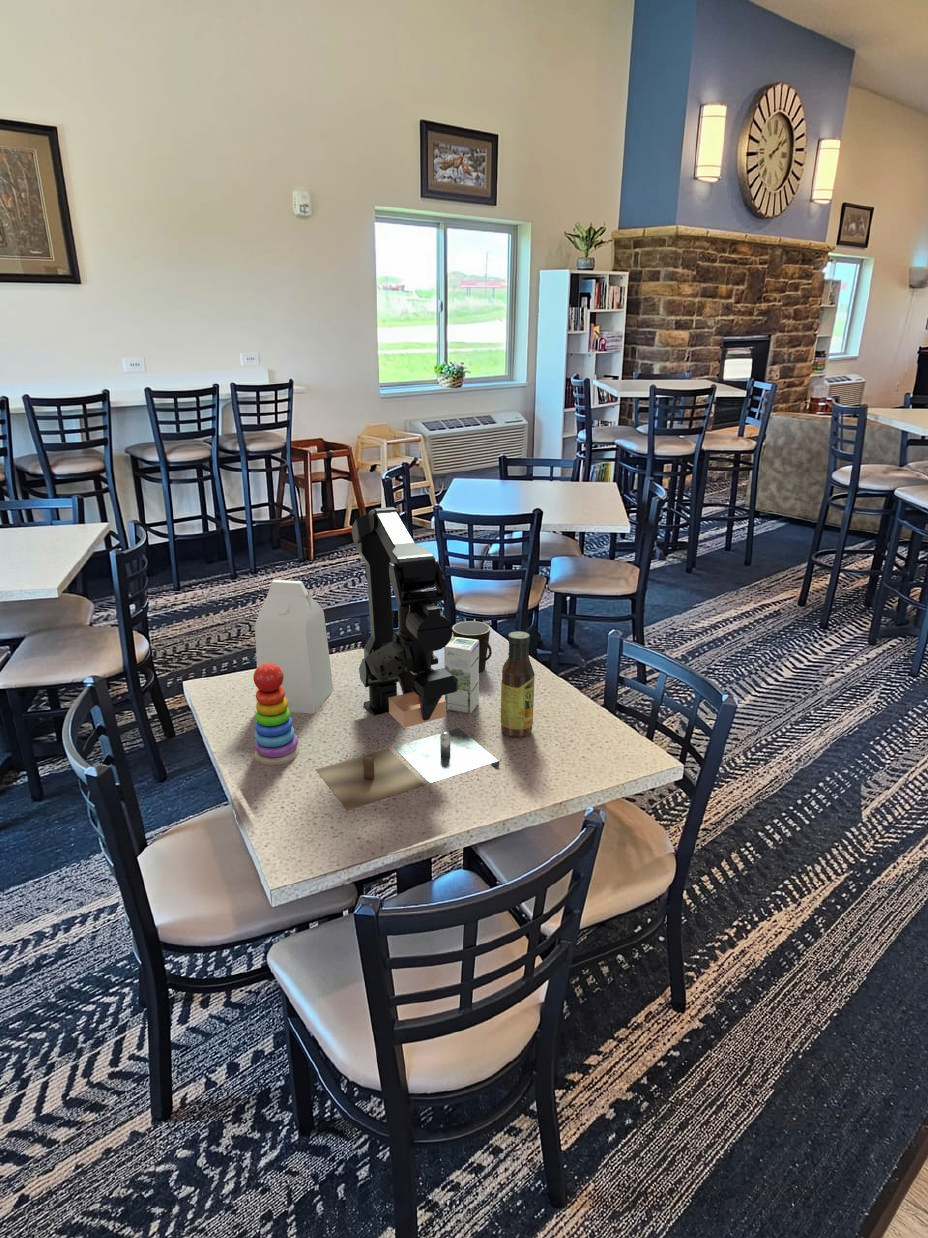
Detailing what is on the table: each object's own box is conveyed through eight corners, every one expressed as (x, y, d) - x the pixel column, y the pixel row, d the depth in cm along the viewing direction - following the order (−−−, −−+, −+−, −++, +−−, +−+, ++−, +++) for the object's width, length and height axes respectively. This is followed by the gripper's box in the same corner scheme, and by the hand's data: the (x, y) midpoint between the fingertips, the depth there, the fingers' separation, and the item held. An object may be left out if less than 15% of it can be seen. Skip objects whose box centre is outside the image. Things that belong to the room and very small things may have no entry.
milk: (333, 689, 164) (325, 574, 154) (314, 714, 153) (304, 592, 144) (281, 685, 165) (270, 571, 156) (258, 709, 155) (245, 588, 146)
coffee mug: (450, 661, 177) (450, 621, 174) (487, 660, 178) (487, 620, 175) (455, 682, 166) (455, 641, 163) (494, 681, 167) (495, 639, 164)
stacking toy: (251, 751, 139) (241, 658, 132) (295, 743, 142) (286, 651, 135) (258, 773, 132) (247, 676, 126) (304, 763, 135) (295, 668, 128)
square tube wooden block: (389, 713, 131) (388, 697, 130) (430, 702, 135) (429, 687, 134) (404, 728, 126) (403, 712, 125) (446, 716, 130) (446, 701, 129)
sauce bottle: (530, 740, 143) (533, 643, 136) (497, 737, 144) (499, 640, 137) (534, 724, 149) (537, 630, 142) (503, 721, 150) (505, 627, 143)
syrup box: (479, 702, 158) (480, 638, 152) (470, 715, 152) (470, 649, 147) (453, 698, 159) (453, 634, 154) (444, 711, 154) (443, 645, 149)
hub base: (393, 751, 139) (392, 725, 137) (459, 732, 146) (459, 707, 144) (430, 788, 128) (429, 760, 126) (499, 765, 134) (499, 739, 133)
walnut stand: (316, 774, 132) (314, 752, 130) (388, 753, 138) (387, 731, 137) (347, 815, 120) (345, 791, 119) (424, 790, 127) (424, 767, 126)
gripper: (349, 619, 129) (353, 701, 134) (395, 657, 113) (398, 748, 119) (408, 608, 134) (410, 687, 139) (459, 643, 119) (459, 731, 124)
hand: (417, 712), depth 130 cm, fingers closed on square tube wooden block, 6 cm apart
